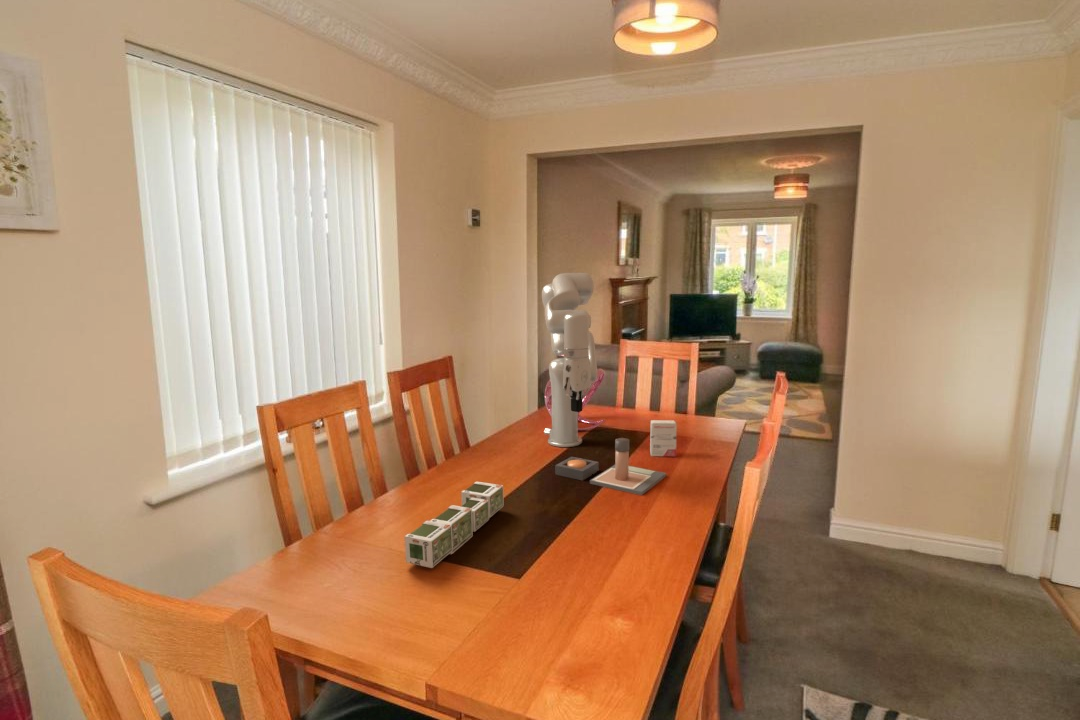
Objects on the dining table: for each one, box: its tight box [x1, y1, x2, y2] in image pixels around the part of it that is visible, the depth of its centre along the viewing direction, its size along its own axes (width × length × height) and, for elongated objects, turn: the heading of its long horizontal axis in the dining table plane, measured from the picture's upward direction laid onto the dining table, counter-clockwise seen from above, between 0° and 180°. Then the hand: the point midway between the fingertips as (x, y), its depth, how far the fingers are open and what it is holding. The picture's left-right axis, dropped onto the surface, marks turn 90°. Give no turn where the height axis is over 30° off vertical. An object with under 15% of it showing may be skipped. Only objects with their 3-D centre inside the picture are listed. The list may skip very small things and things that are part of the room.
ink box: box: [649, 419, 678, 457], centre depth 204 cm, size 9×5×12 cm, turn 84°
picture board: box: [589, 464, 667, 496], centre depth 181 cm, size 17×18×1 cm
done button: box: [568, 460, 587, 469], centre depth 188 cm, size 6×6×2 cm
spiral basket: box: [544, 368, 606, 432], centre depth 238 cm, size 28×28×27 cm
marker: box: [614, 437, 630, 481], centre depth 179 cm, size 4×4×12 cm
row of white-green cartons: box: [404, 481, 504, 569], centre depth 145 cm, size 35×8×7 cm, turn 157°
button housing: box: [554, 456, 600, 481], centre depth 188 cm, size 10×10×3 cm
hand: (576, 410), depth 185 cm, fingers closed
